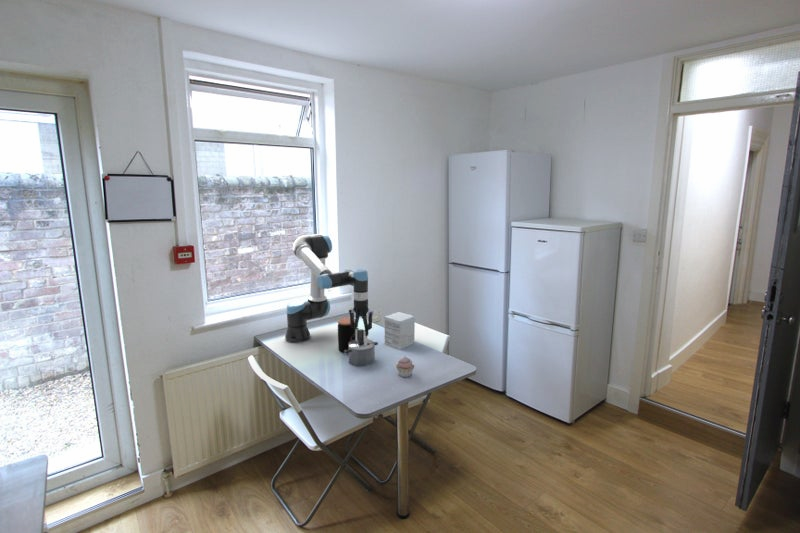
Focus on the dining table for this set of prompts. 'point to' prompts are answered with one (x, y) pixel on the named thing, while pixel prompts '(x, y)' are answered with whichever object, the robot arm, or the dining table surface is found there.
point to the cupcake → (405, 367)
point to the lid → (361, 342)
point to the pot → (361, 356)
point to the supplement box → (399, 330)
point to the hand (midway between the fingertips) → (361, 340)
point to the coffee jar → (345, 334)
